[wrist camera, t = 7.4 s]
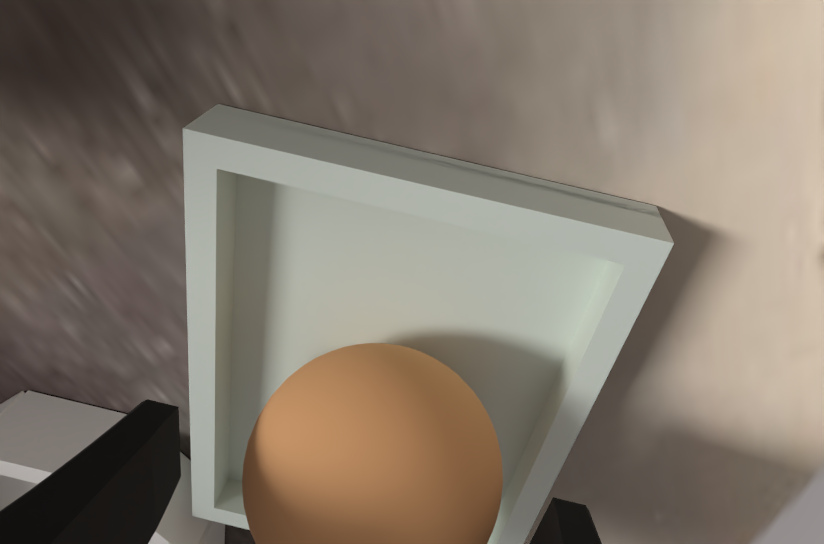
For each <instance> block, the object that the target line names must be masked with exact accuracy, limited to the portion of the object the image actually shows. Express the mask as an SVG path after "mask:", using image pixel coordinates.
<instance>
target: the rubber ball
mask: <svg viewBox="0 0 824 544" xmlns="http://www.w3.org/2000/svg"><path fill="white" fill-rule="evenodd" d="M502 487H503V472H502V457H501V452H500V447H499V443H498V439H497V435H496V432H495V429H494V427H493V424H492V422H491V420H490V417H489V415H488V413H487V411H486V409H485V408H484V406H483V404H482V403H481V401H480V400H479V398H478V397H477V395H476V394H475V393H474V391H473V390H472V389H471V388H470V387H469V386H468V385H467V384H466V383H465V381H464V380H463V379H462V378H461V377H460V376H459V375H458V374H457V373H455V372H454V371H453V370H452V369H450V368H449V367H448V366H446V365H445V364H443V363H441V362H440V361H438V360H436V359H435V358H433V357H431V356H429V355H427V354H425V353H423V352H421V351H418V350H415V349H412V348H408V347H404V346H400V345H394V344H386V343H365V344H356V345H351V346H345V347H342V348H339V349H336V350H333V351H330V352H328V353H326V354H323V355H321V356H319V357H317V358H315V359H313V360H311V361H310V362H308V363H306V364H305V365H303V366H302V367H301V368H299V369H298V370H297V371H295V372H294V373H293V374H292V375H291V376H289V377H288V378H287V379H286V380H285V381H284V382H283V383H282V385H281V386H280V387H279V388H278V389H277V390H276V391H275V392H274V393H273V395H272V396H271V397H270V399H269V400H268V402H267V403H266V405H265V407H264V408H263V410H262V411H261V413H260V415H259V416H258V418H257V421H256V423H255V425H254V428H253V430H252V433H251V435H250V438H249V440H248V445H247V449H246V453H245V458H244V464H243V475H242V492H243V503H244V509H245V513H246V518H247V521H248V525H249V529H250V532H251V534H252V536H253V539H254V541H255V543H256V544H487V543H488V541H489V538H490V536H491V534H492V532H493V529H494V526H495V523H496V520H497V517H498V513H499V509H500V504H501V496H502Z"/></svg>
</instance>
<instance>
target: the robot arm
mask: <svg viewBox="0 0 824 544" xmlns="http://www.w3.org/2000/svg"><path fill="white" fill-rule="evenodd" d="M180 478H181V461H180V436H179V411H178V407H176V406H172V405H168V404H164V403H160V402H156V401H151V400H145V401H143V402H141V403H140V404H139V405H138V406H137V407H135V408H134V409H133V410H132V411H131V412H129V413H128V414H127V415H126V416H124V417H123V418H122V419H121V420H120V421H118V422H117V423H116V424H115V425H113V426H112V427H111V428H110V429H108V430H107V431H106V432H105V433H104V434H102V435H101V436H100V437H99V438H97V439H96V440H95V441H93V442H92V443H91V444H90V445H88V446H87V447H86V448H85V449H83V450H82V451H81V452H80V453H78V454H77V455H76V456H74V457H73V458H72V459H70V460H69V461H68V462H66V463H65V464H64V465H62V466H61V467H60V468H59V469H57V470H56V471H55V472H53V473H52V474H51V475H49V476H48V477H47V478H45V479H44V480H43V481H41V482H40V483H39V484H37V485H36V486H35V487H33V488H32V489H30V490H29V491H28V492H26V493H25V494H24V495H22V496H21V497H19V498H18V499H16V500H15V501H13V502H12V503H11V504H9V505H8V506H6V507H5V508H3V509H2V510H1V511H0V544H148V543H149V541H150V540H151V538H152V536H153V534H154V533H155V531H156V529H157V527H158V525H159V523H160V521H161V519H162V517H163V515H164V513H165V511H166V509H167V506H168V504H169V502H170V500H171V498H172V495H173V493H174V491H175V489H176V487H177V484H178V482H179V480H180ZM530 544H602V543H601V541H600V538H599V536H598V533H597V531H596V528H595V525H594V523H593V520H592V518H591V515H590V513H589V510H588V509H587V507H586V506H585V505H582V504H577V503H573V502H569V501H565V500H561V499H557V498H553V499H552V501H551V503H550V505H549V507H548V509H547V511H546V513H545V515H544V517H543V519H542V521H541V522H540V524H539V526H538V528H537V530H536V532H535V534H534V536H533V538H532V540H531V542H530Z"/></svg>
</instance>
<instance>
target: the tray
mask: <svg viewBox="0 0 824 544" xmlns="http://www.w3.org/2000/svg"><path fill="white" fill-rule="evenodd" d="M183 161H184V201H185V241H186V281H187V321H188V361H189V401H190V441H191V481H192V516H194V517H198V518H202V519H207V520H211V521H215V522H219V523H223V524H227V525H231V526H235V527H239V528H243V529H247V530H250V529H249V525H248V521H247V518H246V513H245V509H244V503H243V492H242V475H243V464H244V458H245V453H246V449H247V445H248V440H249V438H250V435H251V433H252V430H253V428H254V425H255V423H256V421H257V418H258V416H259V415H260V413H261V411H262V410H263V408H264V407H265V405H266V403H267V402H268V400H269V399H270V397H271V396H272V395H273V393H274V392H275V391H276V390H277V389H278V388H279V387H280V386H281V385H282V383H283V382H284V381H285V380H286V379H287V378H288V377H289V376H291V375H292V374H293V373H294V372H295V371H297V370H298V369H299V368H301V367H302V366H303V365H305V364H306V363H308V362H310V361H311V360H313V359H315V358H317V357H319V356H321V355H323V354H326V353H328V352H330V351H333V350H336V349H339V348H342V347H345V346H351V345H356V344H365V343H386V344H394V345H400V346H404V347H408V348H412V349H415V350H418V351H421V352H423V353H425V354H427V355H429V356H431V357H433V358H435V359H436V360H438V361H440V362H441V363H443V364H445V365H446V366H448V367H449V368H450V369H452V370H453V371H454V372H455V373H457V374H458V375H459V376H460V377H461V378H462V379H463V380H464V381H465V383H466V384H467V385H468V386H469V387H470V388H471V389H472V390H473V391H474V393H475V394H476V395H477V397H478V398H479V400H480V401H481V403H482V404H483V406H484V408H485V409H486V411H487V413H488V415H489V417H490V420H491V422H492V424H493V427H494V429H495V432H496V435H497V439H498V443H499V447H500V452H501V457H502V472H503V487H502V496H501V504H500V509H499V513H498V517H497V520H496V523H495V526H494V529H493V532H492V534H491V536H490V538H489V541H488V543H487V544H524V542H525V540H526V538H527V536H528V534H529V532H530V530H531V528H532V526H533V524H534V522H535V520H536V518H537V516H538V514H539V512H540V510H541V508H542V506H543V504H544V502H545V500H546V498H547V496H548V494H549V492H550V490H551V488H552V486H553V484H554V482H555V480H556V478H557V476H558V474H559V472H560V470H561V468H562V466H563V464H564V462H565V460H566V458H567V456H568V454H569V452H570V450H571V448H572V446H573V444H574V442H575V440H576V438H577V436H578V434H579V432H580V430H581V428H582V426H583V424H584V422H585V420H586V418H587V416H588V414H589V412H590V410H591V408H592V406H593V404H594V402H595V400H596V398H597V396H598V394H599V392H600V390H601V388H602V386H603V384H604V382H605V380H606V378H607V376H608V374H609V372H610V370H611V368H612V366H613V364H614V362H615V360H616V358H617V356H618V354H619V352H620V350H621V348H622V346H623V344H624V342H625V340H626V338H627V336H628V334H629V332H630V330H631V328H632V326H633V324H634V322H635V320H636V318H637V316H638V314H639V312H640V310H641V308H642V306H643V304H644V303H645V301H646V299H647V297H648V295H649V293H650V291H651V289H652V287H653V285H654V283H655V281H656V279H657V277H658V275H659V273H660V271H661V269H662V267H663V265H664V263H665V261H666V259H667V257H668V255H669V253H670V251H671V249H672V247H673V245H674V242H673V240H672V238H671V236H670V234H669V232H668V230H667V228H666V225H665V223H664V221H663V219H662V217H661V215H660V213H659V211H658V209H657V207H656V206H654V205H650V204H645V203H641V202H637V201H633V200H628V199H624V198H620V197H615V196H611V195H607V194H603V193H598V192H594V191H590V190H585V189H581V188H577V187H573V186H568V185H564V184H560V183H555V182H551V181H547V180H543V179H538V178H534V177H530V176H525V175H521V174H517V173H513V172H508V171H504V170H500V169H495V168H491V167H487V166H483V165H478V164H474V163H470V162H465V161H461V160H457V159H453V158H448V157H444V156H440V155H435V154H431V153H427V152H423V151H418V150H414V149H410V148H405V147H401V146H397V145H392V144H388V143H384V142H380V141H375V140H371V139H367V138H362V137H358V136H354V135H350V134H345V133H341V132H337V131H332V130H328V129H324V128H320V127H315V126H311V125H307V124H302V123H298V122H294V121H290V120H285V119H281V118H277V117H272V116H268V115H264V114H260V113H255V112H251V111H247V110H242V109H238V108H234V107H230V106H225V105H221V104H217V105H215V106H214V107H213V108H211V109H210V110H208V111H207V112H205V113H204V114H203V115H201V116H200V117H198V118H197V119H195V120H194V121H192V122H191V123H190V124H188V125H187V126H185V127H184V128H183Z"/></svg>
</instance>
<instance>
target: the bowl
mask: <svg viewBox="0 0 824 544" xmlns="http://www.w3.org/2000/svg"><path fill="white" fill-rule="evenodd" d="M126 415H127V414H124V413H120V412H115V411H111V410H107V409H103V408H99V407H95V406H91V405H87V404H82V403H78V402H74V401H70V400H66V399H62V398H58V397H54V396H49V395H45V394H41V393H37V392H33V391H29V390H28V391H27V392H26V393H25V392H24V391H21V392H20V393H18V394H16V395H15V396H13V397H11V398H10V399H8V400H6V401H5V402H3V403H2V404H0V511H1V510H2V509H3V508H5V507H6V506H8V505H9V504H11V503H12V502H13V501H15V500H16V499H18V498H19V497H21V496H22V495H24V494H25V493H26V492H28V491H29V490H30V489H32V488H33V487H35V486H36V485H37V484H39V483H40V482H41V481H43V480H44V479H45V478H47V477H48V476H49V475H51V474H52V473H53V472H55V471H56V470H57V469H59V468H60V467H61V466H62V465H64V464H65V463H66V462H68V461H69V460H70V459H72V458H73V457H74V456H76V455H77V454H78V453H80V452H81V451H82V450H83V449H85V448H86V447H87V446H88V445H90V444H91V443H92V442H93V441H95V440H96V439H97V438H99V437H100V436H101V435H102V434H104V433H105V432H106V431H107V430H108V429H110V428H111V427H112V426H113V425H115V424H116V423H117V422H118V421H120V420H121V419H122V418H123V417H124V416H126ZM180 461H181V478H180V480H179V482H178V484H177V487H176V489H175V491H174V493H173V495H172V498H171V500H170V502H169V504H168V506H167V509H166V511H165V513H164V515H163V517H162V519H161V521H160V523H159V525H158V527H157V529H156V531H155V533H154V534H153V536H152V538H151V540H150V541H149V543H148V544H225V524H223V523H219V522H215V521H211V520H207V519H202V518H198V517H194V516H192V481H191V461H190V460H189V459H188V458H187V457H186V456H185V455H184V454H182V453H181V452H180Z"/></svg>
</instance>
